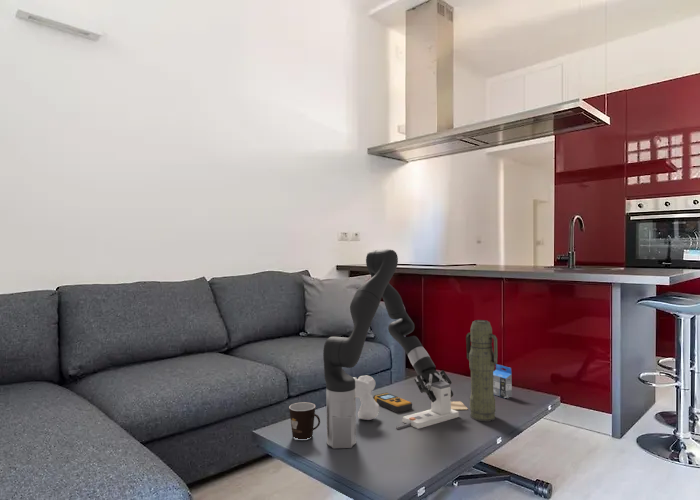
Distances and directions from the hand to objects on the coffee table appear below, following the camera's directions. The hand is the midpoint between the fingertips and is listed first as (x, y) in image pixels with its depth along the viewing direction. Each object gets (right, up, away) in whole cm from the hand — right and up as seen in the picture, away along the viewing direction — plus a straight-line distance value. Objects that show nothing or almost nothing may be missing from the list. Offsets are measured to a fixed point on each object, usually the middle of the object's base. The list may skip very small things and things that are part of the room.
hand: (443, 398), depth 163 cm
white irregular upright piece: (-29, -7, -1) cm, 30 cm away
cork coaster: (+6, -7, +12) cm, 15 cm away
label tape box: (+29, -7, +25) cm, 39 cm away
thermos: (+14, -7, 0) cm, 16 cm away
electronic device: (-17, -8, +14) cm, 23 cm away
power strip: (-7, -7, -4) cm, 11 cm away
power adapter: (-1, -7, +1) cm, 7 cm away
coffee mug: (-49, -7, -18) cm, 53 cm away
